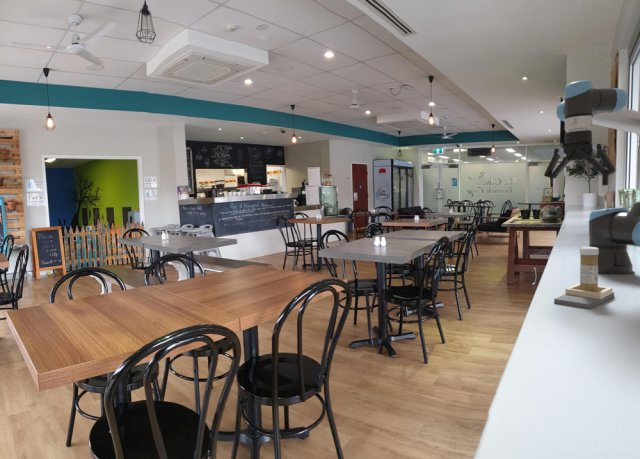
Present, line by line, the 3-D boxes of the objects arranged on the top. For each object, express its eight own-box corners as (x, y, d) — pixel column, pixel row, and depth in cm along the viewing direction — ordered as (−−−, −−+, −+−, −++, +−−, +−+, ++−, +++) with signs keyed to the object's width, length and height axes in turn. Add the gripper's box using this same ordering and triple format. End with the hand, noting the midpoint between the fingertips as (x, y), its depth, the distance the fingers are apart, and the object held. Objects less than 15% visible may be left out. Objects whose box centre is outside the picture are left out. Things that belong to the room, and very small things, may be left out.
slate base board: (579, 291, 128) (579, 282, 128) (614, 296, 121) (614, 287, 121) (554, 303, 117) (554, 293, 117) (590, 309, 110) (590, 298, 110)
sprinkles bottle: (587, 290, 124) (587, 246, 123) (602, 294, 120) (602, 247, 118) (575, 292, 122) (576, 247, 121) (590, 296, 118) (590, 249, 117)
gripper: (533, 136, 143) (533, 198, 144) (619, 124, 123) (619, 196, 125) (543, 137, 147) (543, 197, 149) (628, 125, 128) (627, 195, 130)
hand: (578, 196), depth 137 cm, fingers open, 13 cm apart
